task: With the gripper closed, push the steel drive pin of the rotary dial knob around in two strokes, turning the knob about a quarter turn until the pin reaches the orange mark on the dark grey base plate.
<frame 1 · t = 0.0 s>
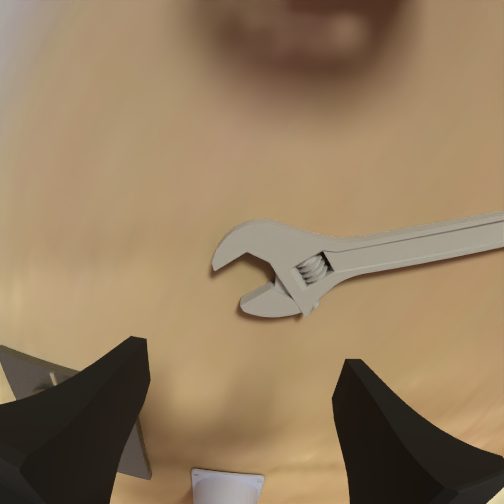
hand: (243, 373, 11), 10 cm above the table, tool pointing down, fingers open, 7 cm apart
adjustable wrench: (399, 250, 20), on the table
rotary dial knob: (60, 445, 23), point 4 cm above the table, hinge at 0.0°
base plate: (75, 419, 27), on the table
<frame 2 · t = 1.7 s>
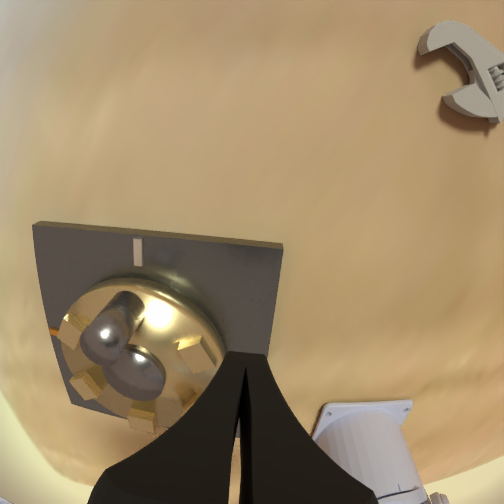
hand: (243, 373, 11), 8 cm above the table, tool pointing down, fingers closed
rotary dial knob: (129, 381, 17), point 4 cm above the table, hinge at 0.0°
base plate: (149, 342, 20), on the table
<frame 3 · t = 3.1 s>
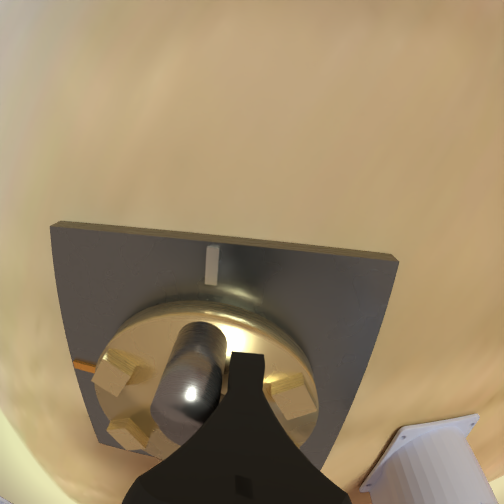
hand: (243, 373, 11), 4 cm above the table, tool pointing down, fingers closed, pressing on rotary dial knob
rotary dial knob: (198, 434, 12), point 4 cm above the table, hinge at 0.2°, touching gripper
base plate: (209, 377, 16), on the table
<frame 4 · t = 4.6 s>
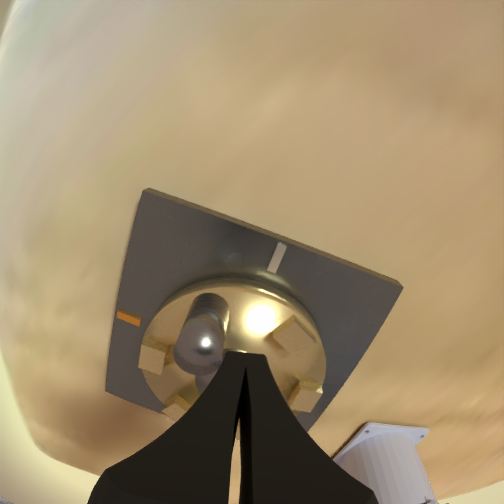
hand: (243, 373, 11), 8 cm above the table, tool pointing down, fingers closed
rotary dial knob: (229, 388, 16), point 4 cm above the table, hinge at 32.6°
base plate: (234, 346, 20), on the table
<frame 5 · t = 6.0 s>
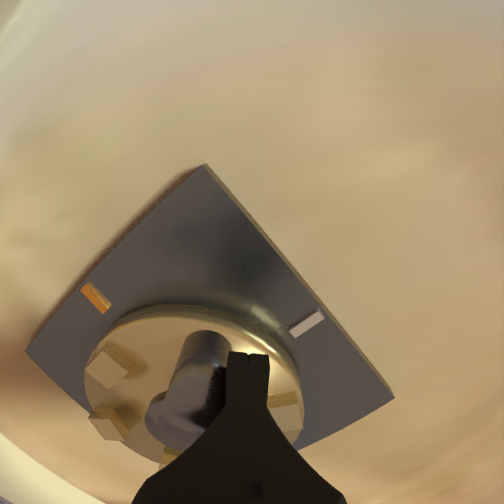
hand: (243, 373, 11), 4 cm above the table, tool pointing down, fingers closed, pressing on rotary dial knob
rotary dial knob: (184, 435, 12), point 4 cm above the table, hinge at 34.0°, touching gripper
base plate: (197, 379, 16), on the table
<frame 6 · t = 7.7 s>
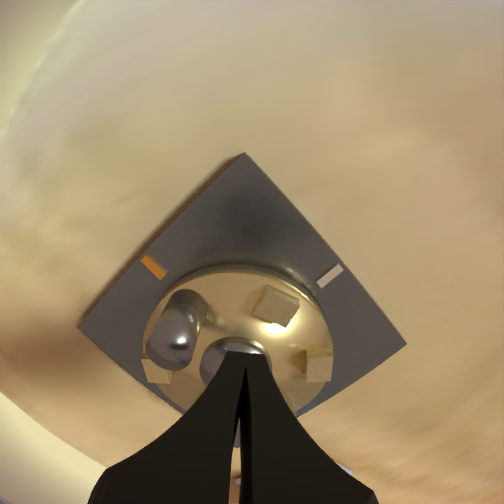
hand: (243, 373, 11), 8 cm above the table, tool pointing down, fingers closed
rotary dial knob: (235, 378, 16), point 4 cm above the table, hinge at 80.2°
base plate: (239, 335, 20), on the table
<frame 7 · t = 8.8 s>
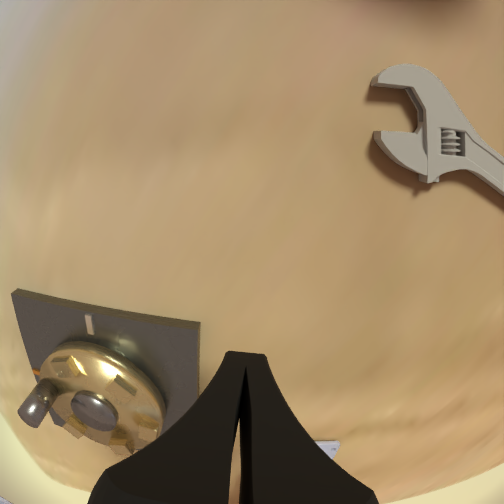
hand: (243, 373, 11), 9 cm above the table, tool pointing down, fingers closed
adjustable wrench: (497, 187, 18), on the table
rotary dial knob: (90, 418, 19), point 4 cm above the table, hinge at 80.2°
base plate: (108, 385, 23), on the table
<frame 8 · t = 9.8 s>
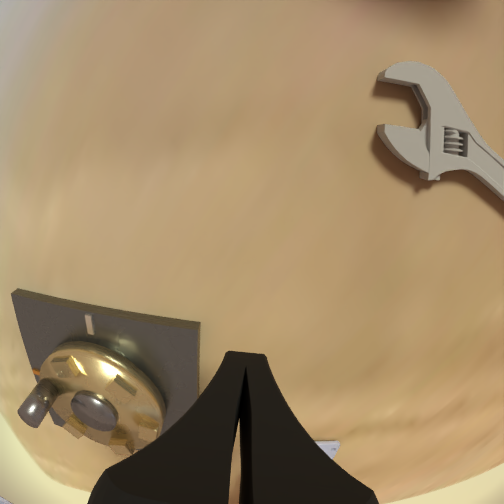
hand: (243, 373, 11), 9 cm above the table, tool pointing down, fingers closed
adjustable wrench: (497, 191, 18), on the table
rotary dial knob: (90, 418, 19), point 4 cm above the table, hinge at 80.2°
base plate: (108, 385, 23), on the table
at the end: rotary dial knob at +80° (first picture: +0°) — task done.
